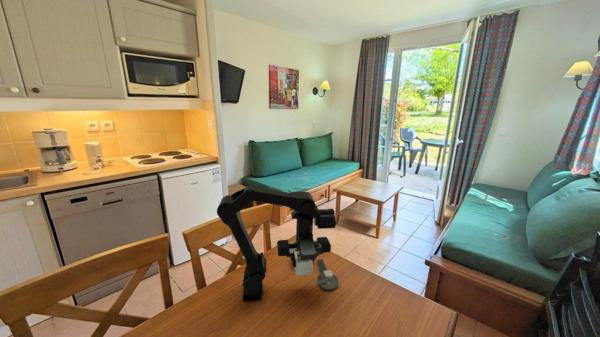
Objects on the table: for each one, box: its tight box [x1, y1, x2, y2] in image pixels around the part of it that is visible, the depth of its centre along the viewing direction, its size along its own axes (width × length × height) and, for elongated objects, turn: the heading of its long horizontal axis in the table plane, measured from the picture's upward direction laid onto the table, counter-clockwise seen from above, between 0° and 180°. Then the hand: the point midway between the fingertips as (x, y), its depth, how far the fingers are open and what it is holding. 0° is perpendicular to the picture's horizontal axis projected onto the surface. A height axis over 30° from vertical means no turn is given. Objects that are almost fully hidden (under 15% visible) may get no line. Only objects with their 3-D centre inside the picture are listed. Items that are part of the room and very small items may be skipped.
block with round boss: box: [294, 251, 314, 277], centre depth 86 cm, size 6×6×7 cm
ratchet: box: [316, 258, 339, 293], centre depth 97 cm, size 16×8×5 cm, turn 10°
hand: (302, 266), depth 86 cm, fingers closed on block with round boss, 6 cm apart
